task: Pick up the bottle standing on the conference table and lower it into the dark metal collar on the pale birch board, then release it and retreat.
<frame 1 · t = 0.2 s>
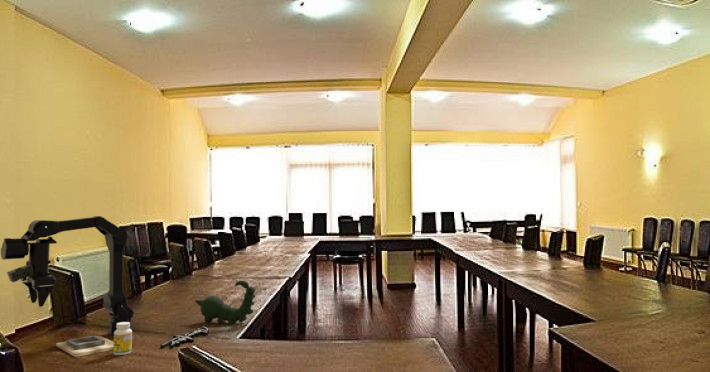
hand: (37, 304, 162), 15 cm above the table, fingers open, 9 cm apart
collar board: (88, 347, 164), on the table
toy figurine: (223, 323, 202), on the table
supplement bottle: (122, 353, 158), on the table
toy rifle: (187, 340, 177), on the table
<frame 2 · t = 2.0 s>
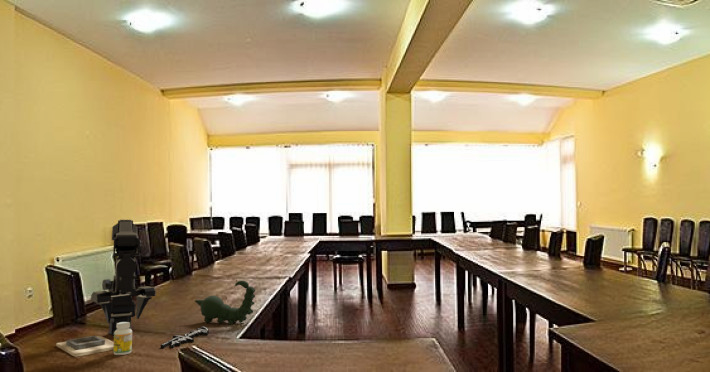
hand: (123, 320, 159), 10 cm above the table, fingers open, 9 cm apart
nothing on the table moved.
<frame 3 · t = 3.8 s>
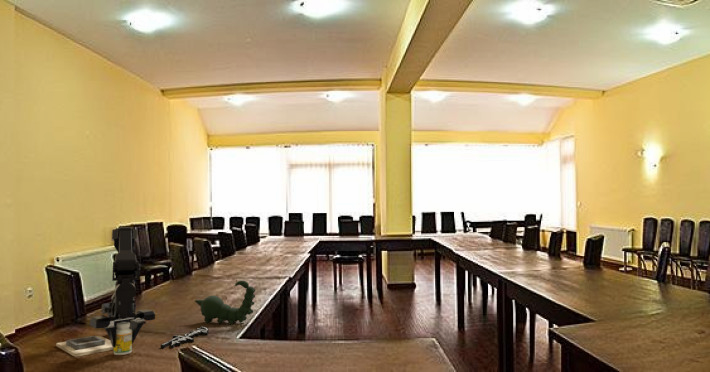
hand: (122, 345, 158), 3 cm above the table, fingers closed on supplement bottle, 5 cm apart
supplement bottle: (122, 353, 158), on the table, touching gripper
everything else where it was.
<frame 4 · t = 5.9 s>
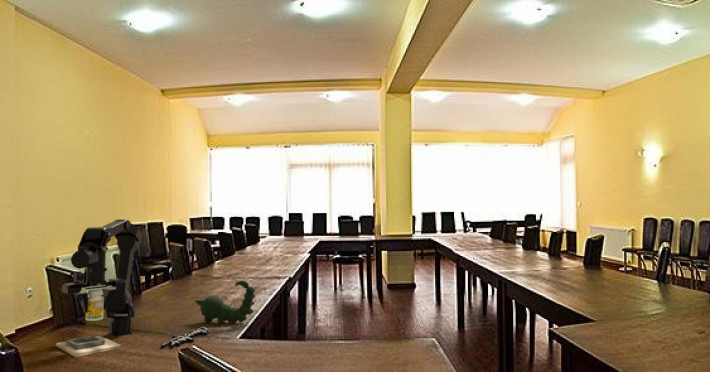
hand: (94, 311, 163), 12 cm above the table, fingers closed on supplement bottle, 5 cm apart
supplement bottle: (94, 319, 163), point 10 cm above the table, touching gripper
everything else where it was.
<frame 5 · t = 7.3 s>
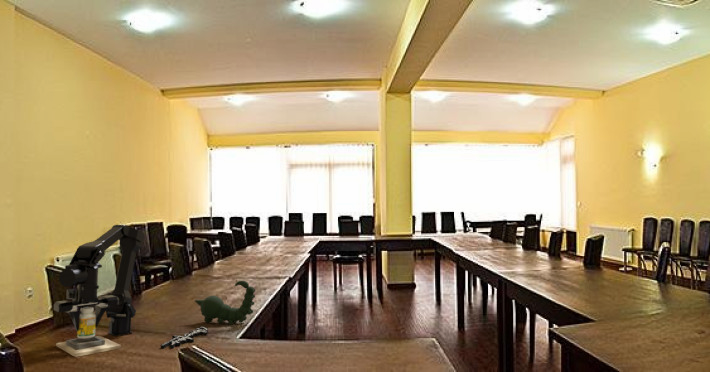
hand: (86, 329, 164), 6 cm above the table, fingers closed on supplement bottle, 5 cm apart
supplement bottle: (86, 337, 164), point 3 cm above the table, touching gripper
everything else where it was.
when the fingers open (5 cm above the table, at t = 8.4 s): supplement bottle drops 1 cm, resting on collar board.
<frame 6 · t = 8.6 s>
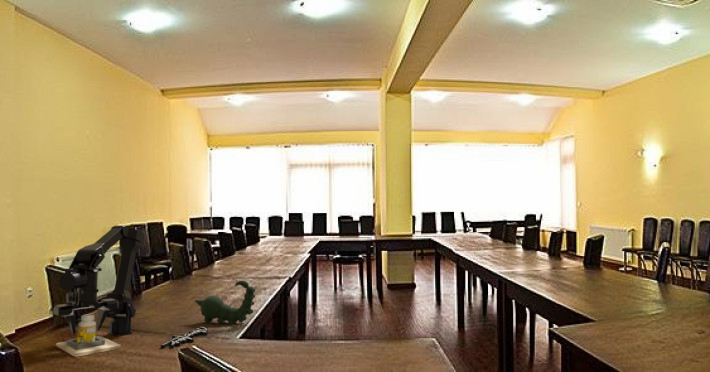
hand: (86, 332, 164), 5 cm above the table, fingers open, 7 cm apart
supplement bottle: (85, 344, 164), point 1 cm above the table, touching collar board
everything else where it was.
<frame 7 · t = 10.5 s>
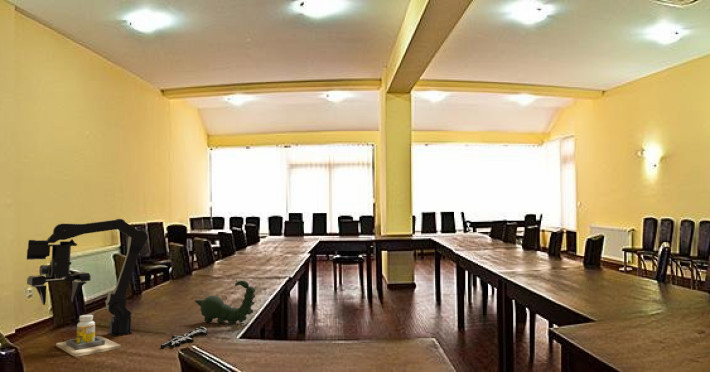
hand: (58, 303, 172), 13 cm above the table, fingers open, 9 cm apart
nothing on the table moved.
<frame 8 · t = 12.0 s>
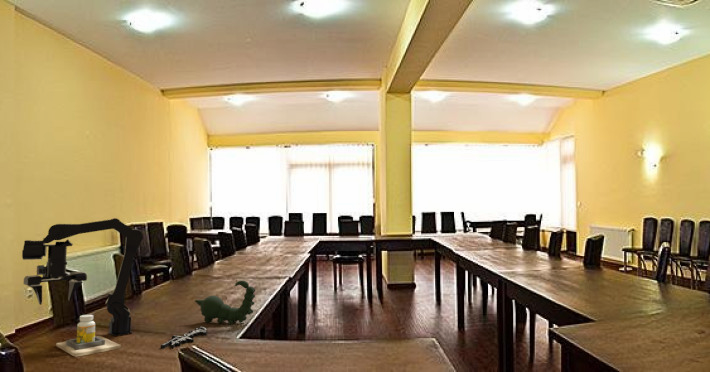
hand: (55, 302, 174), 13 cm above the table, fingers open, 9 cm apart
nothing on the table moved.
at the end: supplement bottle 0.0 cm from the target spot on the collar board, point 0.8 cm above the collar board's base; supplement bottle tilted 0°; the gripper is holding nothing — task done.
